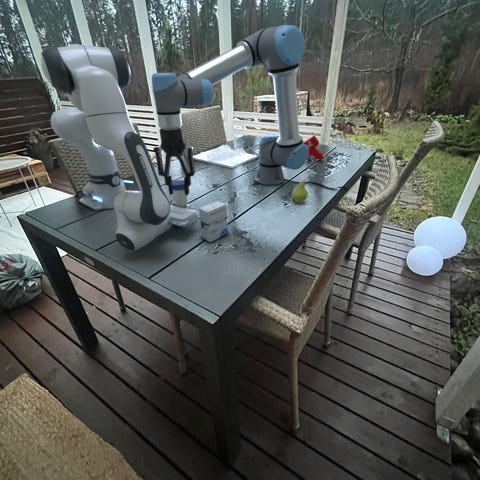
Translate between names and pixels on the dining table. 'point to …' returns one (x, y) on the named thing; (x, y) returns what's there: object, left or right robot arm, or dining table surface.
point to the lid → (178, 184)
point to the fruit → (300, 192)
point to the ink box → (213, 221)
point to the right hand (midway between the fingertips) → (179, 193)
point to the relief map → (225, 156)
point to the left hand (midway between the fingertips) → (182, 205)
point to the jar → (180, 198)
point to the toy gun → (313, 147)
